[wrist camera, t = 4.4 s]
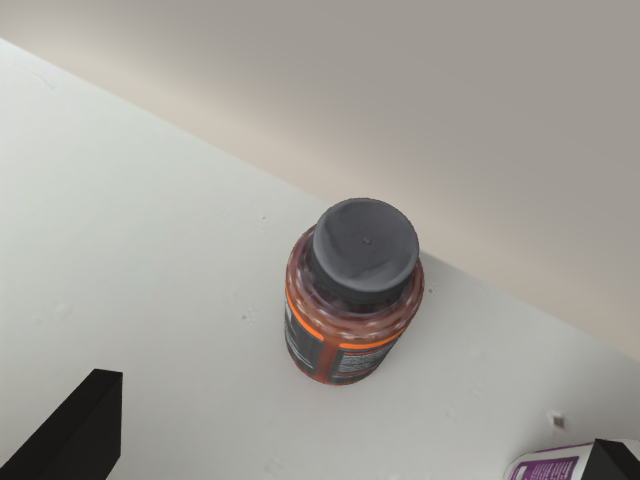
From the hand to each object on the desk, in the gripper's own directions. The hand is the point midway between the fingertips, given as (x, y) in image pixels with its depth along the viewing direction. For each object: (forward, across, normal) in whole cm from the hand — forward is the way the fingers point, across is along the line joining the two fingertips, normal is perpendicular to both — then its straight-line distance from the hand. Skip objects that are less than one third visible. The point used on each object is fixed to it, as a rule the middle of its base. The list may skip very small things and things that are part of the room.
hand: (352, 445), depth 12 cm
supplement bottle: (+13, 0, -4) cm, 14 cm away
